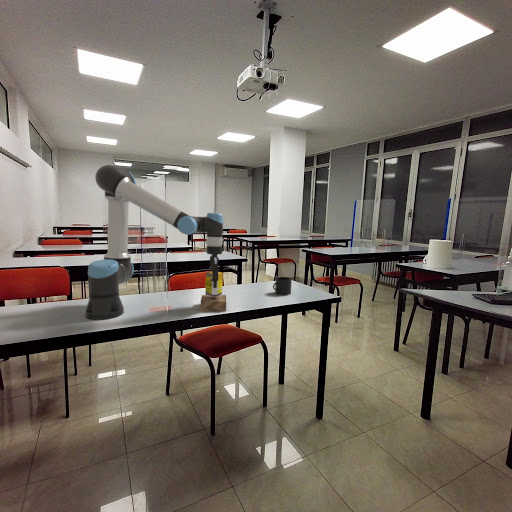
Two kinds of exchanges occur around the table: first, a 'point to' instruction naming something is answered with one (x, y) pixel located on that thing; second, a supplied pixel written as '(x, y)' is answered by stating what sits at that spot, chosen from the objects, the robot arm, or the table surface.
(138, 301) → the table surface
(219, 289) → the supplement box
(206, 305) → the walnut block
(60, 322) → the table surface
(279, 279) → the mug
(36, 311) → the table surface
